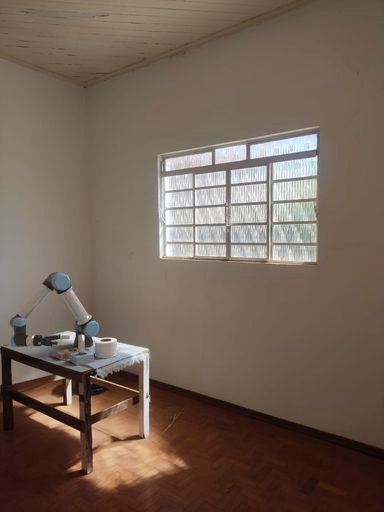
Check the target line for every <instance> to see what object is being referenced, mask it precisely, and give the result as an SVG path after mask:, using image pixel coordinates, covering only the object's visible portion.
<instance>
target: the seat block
mask: <svg viewBox="0 0 384 512" xmlns="http://www.w3.org/2000/svg"><path fill="white" fill-rule="evenodd" d="M69 362H71V363H72V364H74V365H76V366H81V365H85V364H89V363H93V362H95V353H92V352H90V350H89V351H87V350H85V355H81V356H79V352H76V353H71V354H70V359H69Z"/></svg>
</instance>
